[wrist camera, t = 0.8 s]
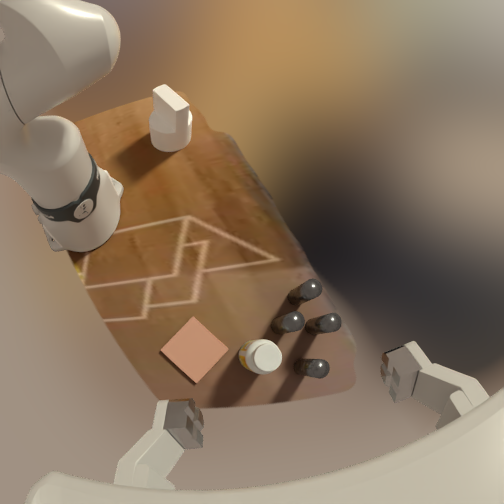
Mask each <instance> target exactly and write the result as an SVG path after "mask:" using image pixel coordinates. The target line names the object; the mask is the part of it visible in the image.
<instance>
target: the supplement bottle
mask: <svg viewBox="0 0 504 504" xmlns="http://www.w3.org/2000/svg"><path fill="white" fill-rule="evenodd" d="M239 360H240V362H241V364H242V365H243V366H244V367H245V368H246V369H248V370H250V371H253V372H255V373H257V374H268V373H271V372H272V371H274V370H275V369H277V368H278V367H279V365H280V364H281V361H282V354H281V351H280V350H279V348H278V347H277V345H276V344H275V343H273V342H272V341H269V340H265V339H260V340H251V341H248V342H246V343H245V344H243V345H242V347H241V348H240V351H239Z"/></svg>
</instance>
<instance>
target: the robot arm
mask: <svg viewBox="0 0 504 504" xmlns="http://www.w3.org/2000/svg"><path fill="white" fill-rule="evenodd" d="M0 27H1V29H2V30H3V32H4V35H5V38H4V39H3V40H2V41H1V42H0V174H3V175H6V176H8V177H10V178H12V179H13V180H15V181H16V182H17V183H18V184H19V185H21V187H22V188H23V189H24V190H25V191H26V192H27V193H28V194H29V195H30V196H31V198H32V201H33V203H34V204H33V205H32V209H33V211H34V212H35V214H36V215H38V214H39V217H38V220H39V222H40V223H42V226H43V229H44V231H45V234H46V237H47V240H48V242H49V245H50V247H51V249H52V250H53V251H62V250H71V251H76V252H86V251H90V250H93V249H95V248H97V247H99V246H100V245H102V244H103V243H104V242H106V241H107V240H108V239H109V238H110V236H111V235H112V234H113V232H114V231H115V229H116V227H117V224H118V221H119V217H120V199H121V196H122V193H123V186H122V184H121V183H119V182H118V181H116V180H115V179H113V178H112V177H110V176H109V174H108V172H107V171H106V170H103V169H101V168H100V167H98V166H97V164H96V162H95V160H94V159H93V158H92V156H91V155H90V154H89V153H88V152H87V149H86V147H85V144H84V142H83V139H82V136H81V134H80V131H79V129H78V128H77V126H76V125H75V124H73V123H72V122H71V121H69V120H67V119H65V118H63V117H60V116H42V117H38V116H40V115H41V114H43V113H45V112H46V111H48V110H50V109H52V108H53V107H55V106H57V105H59V104H61V103H62V102H64V101H66V100H68V99H70V98H72V97H74V96H76V95H77V94H79V93H80V92H82V91H83V90H85V89H86V88H88V87H89V86H91V85H92V84H94V83H95V82H97V81H98V80H100V79H101V78H103V77H104V76H106V75H107V74H108V73H110V72H111V70H112V68H113V67H114V64H115V62H116V60H117V57H118V54H119V50H120V31H119V27H118V25H117V23H116V21H115V19H114V18H113V16H112V15H111V14H110V13H109V12H108V11H107V10H105V9H104V8H102V7H100V6H98V5H94V4H91V3H87V2H84V1H80V0H0ZM114 185H115V186H114ZM53 239H54V241H53ZM382 361H383V364H382V365H381V377H382V379H383V382H384V384H385V385H386V386H388V387H390V390H389V393H390V395H391V397H392V399H393V401H394V403H397V402H399V401H402V400H404V399H407V398H409V397H412V398H414V399H415V400H417V401H419V402H420V403H422V404H424V405H425V406H427V407H429V408H430V409H432V410H434V411H436V412H437V413H439V414H441V416H440V419H439V420H438V422H437V424H436V428H437V430H436V431H434V432H432V433H430V434H428V435H427V436H424V437H422V438H420V439H418V440H416V441H414V442H412V443H410V444H407V445H405V446H403V447H400V448H398V449H396V450H393V451H391V452H388V453H386V454H383V455H381V456H378V457H376V458H373V459H370V460H367V461H364V462H361V463H358V464H355V465H352V466H349V467H346V468H343V469H339V470H336V471H332V472H328V473H324V474H320V475H316V476H312V477H308V478H303V479H298V480H293V481H288V482H282V483H276V484H270V485H263V486H255V487H247V488H235V489H220V490H175V486H174V485H173V484H172V483H171V482H169V481H168V480H166V479H165V478H166V477H167V475H168V474H169V472H170V471H171V469H172V468H173V467H174V465H175V464H176V462H177V461H178V459H179V458H180V456H181V455H182V454H183V452H184V451H185V450H184V449H195V448H202V447H203V435H202V434H201V432H200V431H201V430H202V429H203V427H204V420H203V415H202V413H201V411H200V409H199V408H197V407H195V401H194V400H193V399H192V398H189V399H175V400H160V401H159V402H158V403H157V407H156V412H155V416H154V421H153V426H152V430H148V431H147V432H146V433H145V435H144V436H143V437H142V438H141V439H140V440H139V441H138V442H137V443H136V444H135V445H134V446H133V447H132V448H131V449H130V450H129V451H128V452H127V454H125V455H124V456H123V457H122V458H121V459H120V461H119V462H118V466H117V470H116V475H115V479H114V484H111V483H105V482H100V481H95V480H90V479H86V478H81V477H77V476H73V475H69V474H66V473H62V472H59V471H52V472H50V473H48V474H47V475H45V476H44V477H43V478H41V479H40V480H39V481H37V482H36V483H35V484H34V485H33V486H32V487H31V489H30V491H29V493H28V495H27V498H26V501H25V503H24V504H504V387H503V388H502V389H501V390H499V391H498V392H497V393H495V394H494V395H493V396H492V397H489V396H488V394H487V393H486V392H485V390H484V389H483V387H482V386H481V385H480V383H479V382H478V381H477V380H476V379H475V378H472V377H469V376H467V375H464V374H462V373H459V372H456V371H454V370H451V369H449V368H446V367H443V366H441V365H438V364H436V363H434V364H432V363H431V362H430V361H429V359H428V358H427V357H426V355H425V354H424V353H423V351H422V350H421V349H420V347H419V346H418V345H417V343H416V342H414V341H412V342H410V343H407V344H405V345H402V346H399V347H397V348H394V349H392V350H389V351H387V352H384V353H383V354H382Z"/></svg>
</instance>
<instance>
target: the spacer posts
mask: <svg viewBox="0 0 504 504" xmlns="http://www.w3.org/2000/svg"><path fill="white" fill-rule="evenodd" d="M321 292H322V286H321V284H320V282H319V281H318V280H316V279H310V280H308V281H306V282H304V283H303V284H301V285H300V286H298V287H296V288H295V289H293V290H291V291H290V292H289V294H288V300H289V302H290V303H291V304H293V305H300V304H302V303H304V302H307V301H309V300H311V299H314V298H316V297H318V296H319V295H320V294H321ZM304 323H305V320H304V317H303V315H302V314H301V313H299V312H296V311H294V312H291V313H288V314H285V315H283V316H280V317H277V318H275V319H274V320H273V321H272V324H271V327H272V330H273V331H274V332H275V333H277V334H283V333H289V332H294V331H299V330H301V329H302V328H303V326H304ZM340 327H341V318H340V317H339V315H338V314H336V313H330V314H327V315H323V316H320V317H316V318H313V319H310V320H308V321H307V322H306V325H305V328H306V331H307V332H308V333H309V334H311V335H316V334H322V333H329V332H335V331H337V330H339V328H340ZM294 371H295V372H296V373H297V374H299V375H304V376H309V377H315V378H324V377H325V376H326V375H327V374H328V373H329V364H328V362H327V361H325V360H323V359H303V358H301V359H298V360H297V361H296V362H295V363H294Z"/></svg>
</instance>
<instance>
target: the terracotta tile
mask: <svg viewBox="0 0 504 504" xmlns="http://www.w3.org/2000/svg"><path fill="white" fill-rule="evenodd" d="M227 350H228V348H227V347H226V346H225V345H224V344H223V343H222V342H220V341H219V340H218V339H217V338H216V337H215V336H214V335H213V334H212V333H211V332H209V331H208V330H207V329H206V328H205V327H204V326H203V325H202V324H201V323H200V322H199V321H198V320H197V319H196V318H195V317H192V318H191V319H190V320H189V321H188V322H187V323H186V324H185V325H184V326H183V327H182V328H181V329H180V330H179V331H178V333H177V334H176V335H175V336H174V337H173V338H172V339H171V340H170V341H169V342H168V343H167V344H166V345H165V346H164V347H163V348H162V349H161V351H162V352H163V353H164V354H165V355H166V356H167V357H168V358H169V359H170V360H171V361H172V362H174V363H175V364H176V365H177V366H178V367H179V368H180V369H181V370H182V371H183V372H184V373H186V374H187V375H188V376H189V377H190V378H191V379H192V380H193V381H195V382H196V383H198V381H199V380H200V379H201V378H202V377H203V376H204V375H205V374H206V373H207V372H208V371H209V370H210V369H211V368H212V367H213V366H214V365H215V363H216V362H217V361H218V360H219V359H220V358H221V357H222V356H223V355H224V354H225V353H226V352H227Z"/></svg>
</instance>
